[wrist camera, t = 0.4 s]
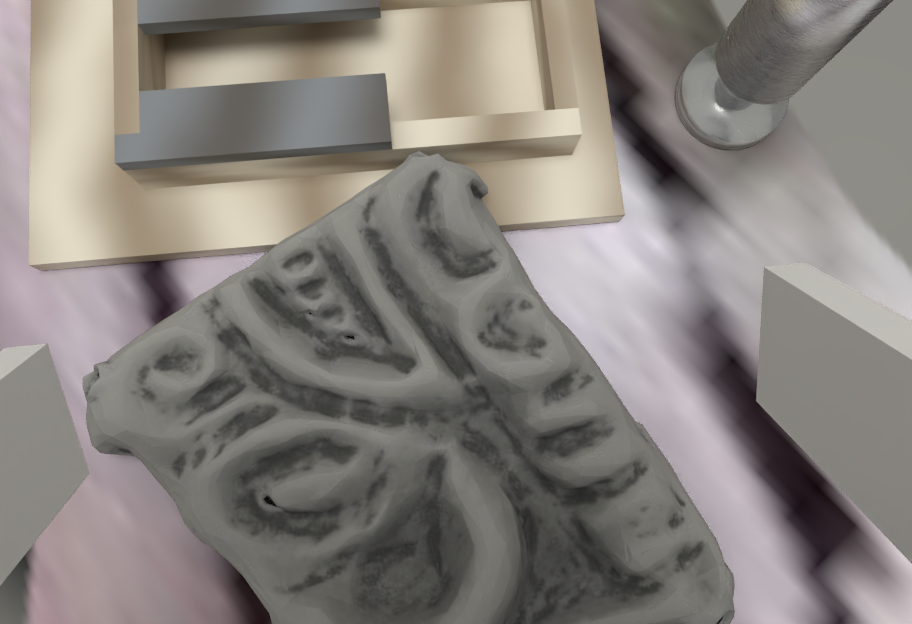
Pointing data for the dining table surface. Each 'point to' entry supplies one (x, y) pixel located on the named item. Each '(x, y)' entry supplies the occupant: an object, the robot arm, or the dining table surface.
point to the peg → (764, 66)
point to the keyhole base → (251, 207)
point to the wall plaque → (407, 431)
